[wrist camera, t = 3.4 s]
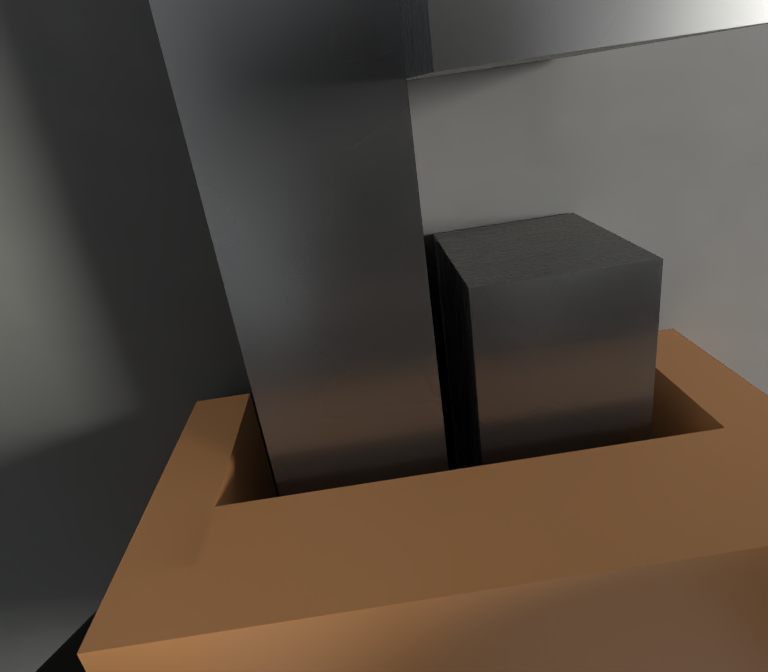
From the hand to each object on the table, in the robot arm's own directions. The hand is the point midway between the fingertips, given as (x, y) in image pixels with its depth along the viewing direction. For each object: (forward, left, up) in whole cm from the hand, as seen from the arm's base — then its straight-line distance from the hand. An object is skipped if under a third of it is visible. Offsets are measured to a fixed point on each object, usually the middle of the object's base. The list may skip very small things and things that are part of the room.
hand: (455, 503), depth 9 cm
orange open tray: (0, 0, -1) cm, 1 cm away
